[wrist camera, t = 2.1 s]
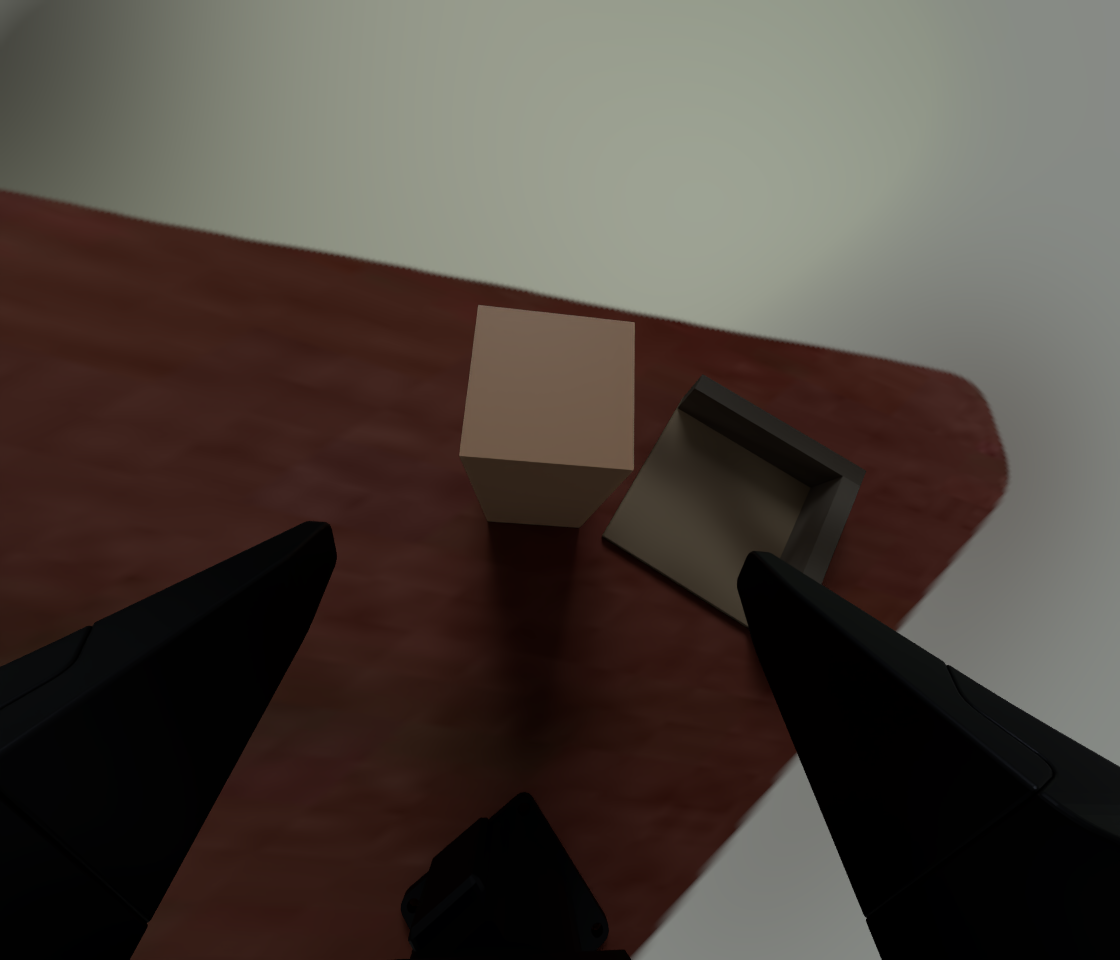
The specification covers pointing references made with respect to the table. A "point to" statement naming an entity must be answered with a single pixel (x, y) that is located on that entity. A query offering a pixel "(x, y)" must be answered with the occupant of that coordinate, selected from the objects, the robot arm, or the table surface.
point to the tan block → (548, 415)
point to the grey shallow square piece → (733, 497)
